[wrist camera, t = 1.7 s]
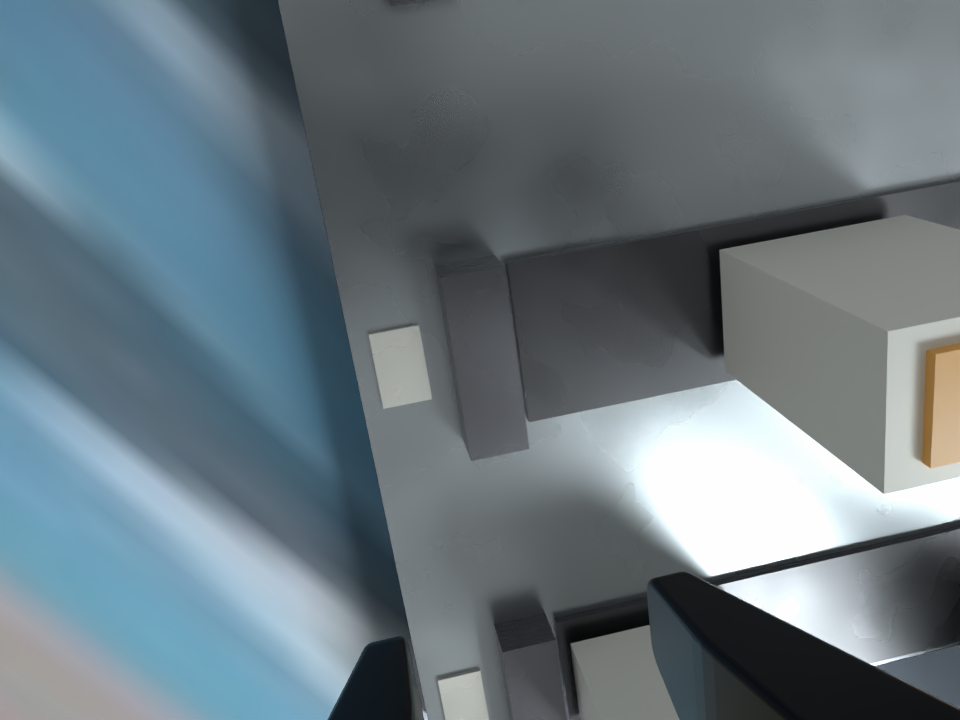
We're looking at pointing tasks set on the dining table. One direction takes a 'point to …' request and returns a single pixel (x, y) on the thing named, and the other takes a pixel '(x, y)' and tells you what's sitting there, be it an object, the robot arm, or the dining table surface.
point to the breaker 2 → (855, 342)
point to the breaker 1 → (620, 678)
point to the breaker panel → (615, 311)
